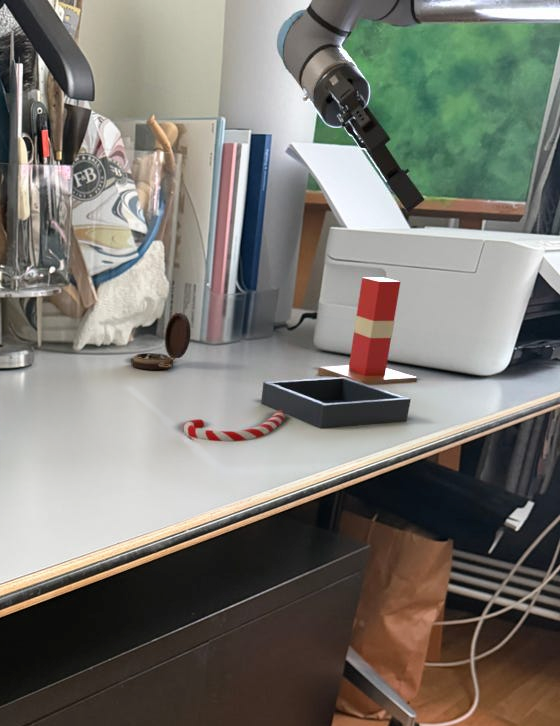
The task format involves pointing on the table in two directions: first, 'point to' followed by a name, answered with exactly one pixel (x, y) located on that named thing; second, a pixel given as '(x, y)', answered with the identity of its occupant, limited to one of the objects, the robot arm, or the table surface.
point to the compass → (167, 345)
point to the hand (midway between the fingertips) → (398, 176)
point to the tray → (335, 402)
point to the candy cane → (194, 431)
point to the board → (344, 371)
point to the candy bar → (374, 325)
